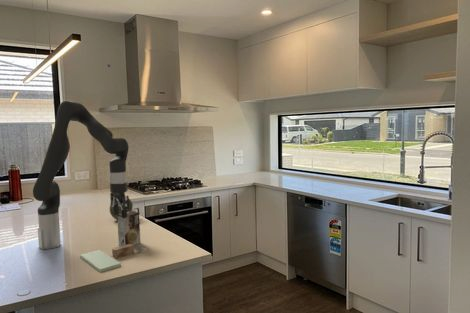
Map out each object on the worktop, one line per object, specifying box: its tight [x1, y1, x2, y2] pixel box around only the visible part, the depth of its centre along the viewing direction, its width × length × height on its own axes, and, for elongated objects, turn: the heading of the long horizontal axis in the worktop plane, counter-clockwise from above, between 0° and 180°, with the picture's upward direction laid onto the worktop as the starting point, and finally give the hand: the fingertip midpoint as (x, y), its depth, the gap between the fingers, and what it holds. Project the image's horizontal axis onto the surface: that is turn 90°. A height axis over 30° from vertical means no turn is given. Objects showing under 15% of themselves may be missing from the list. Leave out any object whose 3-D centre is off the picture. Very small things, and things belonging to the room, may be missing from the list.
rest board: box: [79, 249, 122, 273], centre depth 155 cm, size 9×23×1 cm, turn 43°
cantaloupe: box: [109, 198, 133, 220], centre depth 224 cm, size 14×14×15 cm
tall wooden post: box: [111, 244, 148, 260], centre depth 165 cm, size 15×6×4 cm, turn 133°
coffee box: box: [117, 210, 141, 247], centre depth 177 cm, size 9×6×16 cm
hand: (120, 216), depth 161 cm, fingers open, 8 cm apart
